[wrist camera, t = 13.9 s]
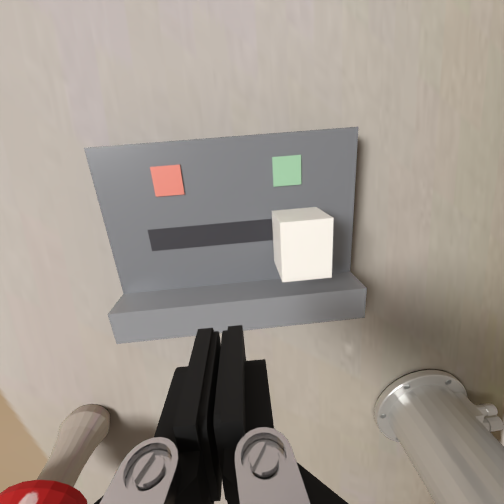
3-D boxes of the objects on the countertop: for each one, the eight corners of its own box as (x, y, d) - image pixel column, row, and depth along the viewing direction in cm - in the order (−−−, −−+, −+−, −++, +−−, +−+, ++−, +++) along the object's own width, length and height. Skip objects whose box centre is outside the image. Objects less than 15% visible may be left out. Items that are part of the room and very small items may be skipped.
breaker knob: (309, 202, 24) (333, 217, 18) (309, 249, 25) (331, 277, 19) (268, 206, 23) (280, 222, 18) (271, 253, 25) (282, 282, 19)
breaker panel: (344, 129, 25) (380, 121, 19) (337, 284, 30) (364, 317, 24) (101, 148, 24) (56, 146, 18) (140, 304, 29) (116, 343, 23)
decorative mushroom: (81, 380, 32) (-35, 554, 18) (140, 413, 35) (78, 589, 21) (37, 426, 34) (-99, 615, 20) (96, 455, 37) (12, 641, 23)
